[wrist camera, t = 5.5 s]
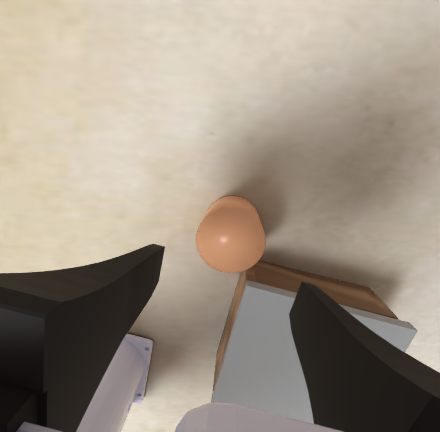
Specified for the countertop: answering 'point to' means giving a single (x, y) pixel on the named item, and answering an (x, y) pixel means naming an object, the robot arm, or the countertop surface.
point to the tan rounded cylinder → (231, 235)
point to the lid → (279, 353)
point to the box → (291, 282)
